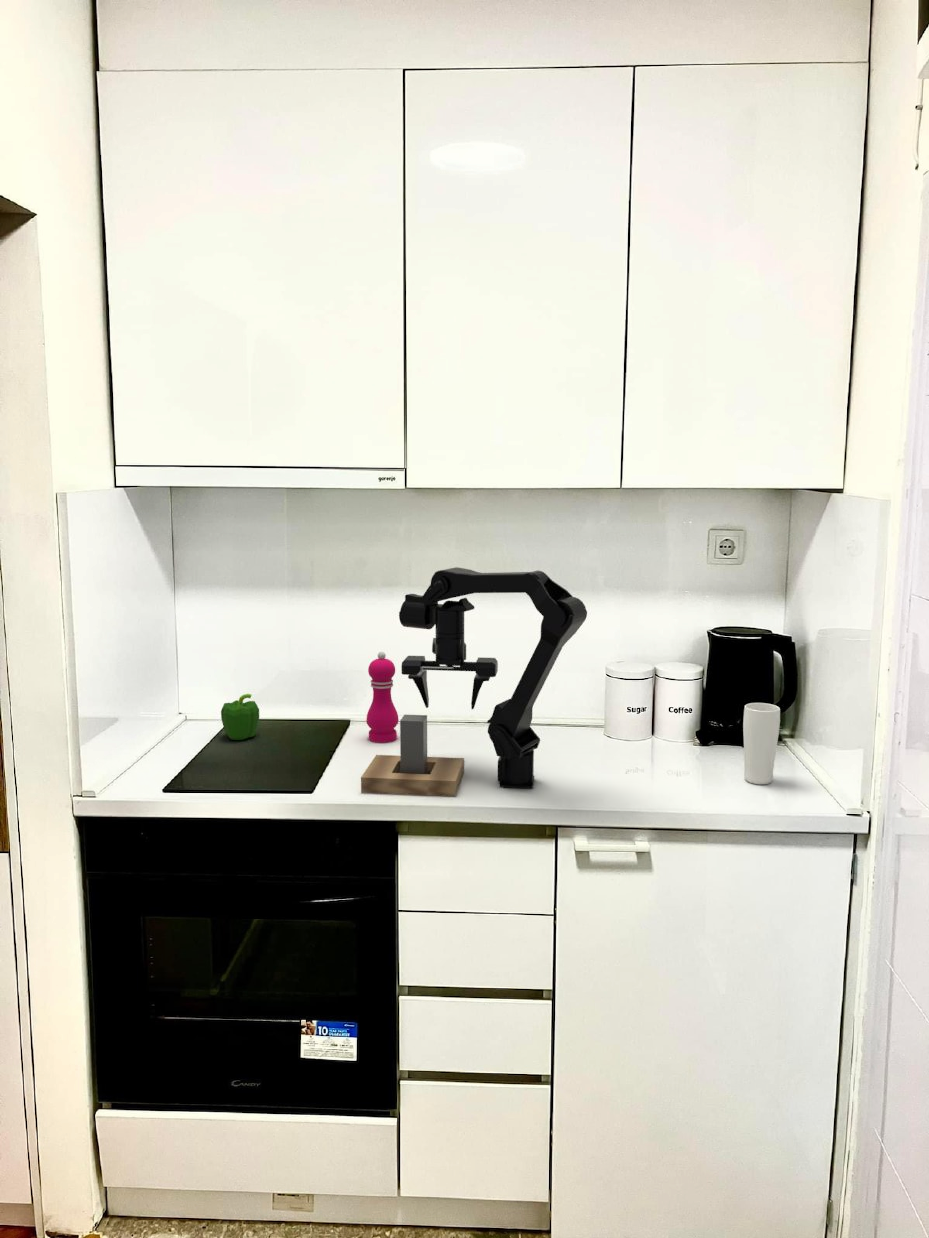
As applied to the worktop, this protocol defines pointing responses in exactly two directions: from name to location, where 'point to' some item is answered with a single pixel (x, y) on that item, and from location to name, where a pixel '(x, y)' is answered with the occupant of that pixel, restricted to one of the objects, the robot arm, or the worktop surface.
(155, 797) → the worktop surface
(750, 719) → the drinking glass
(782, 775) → the worktop surface
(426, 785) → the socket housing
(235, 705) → the bell pepper
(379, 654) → the pepper mill
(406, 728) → the plug block
